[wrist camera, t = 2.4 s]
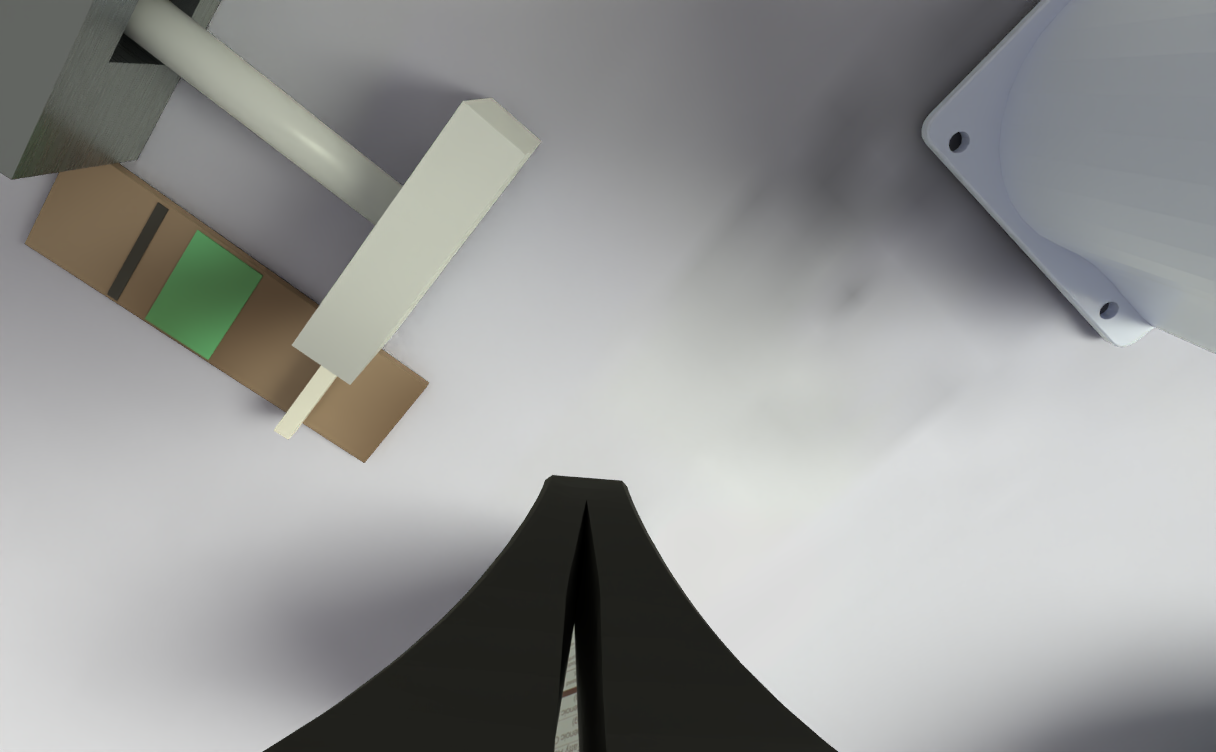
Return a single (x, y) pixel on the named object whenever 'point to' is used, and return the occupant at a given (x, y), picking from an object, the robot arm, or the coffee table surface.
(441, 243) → the gauge plunger
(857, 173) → the coffee table surface
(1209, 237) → the robot arm
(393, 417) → the gauge scale
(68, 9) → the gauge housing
